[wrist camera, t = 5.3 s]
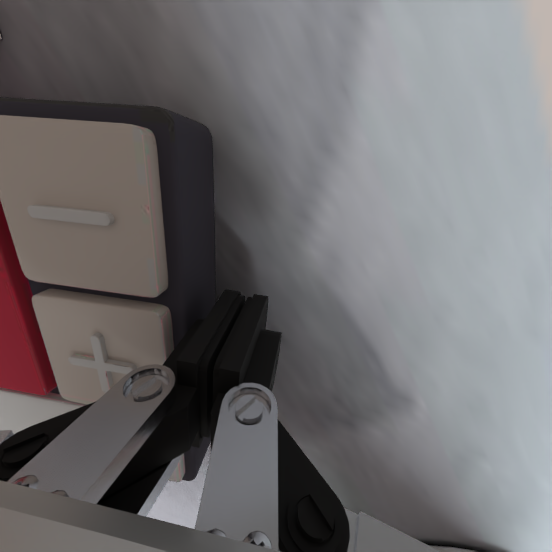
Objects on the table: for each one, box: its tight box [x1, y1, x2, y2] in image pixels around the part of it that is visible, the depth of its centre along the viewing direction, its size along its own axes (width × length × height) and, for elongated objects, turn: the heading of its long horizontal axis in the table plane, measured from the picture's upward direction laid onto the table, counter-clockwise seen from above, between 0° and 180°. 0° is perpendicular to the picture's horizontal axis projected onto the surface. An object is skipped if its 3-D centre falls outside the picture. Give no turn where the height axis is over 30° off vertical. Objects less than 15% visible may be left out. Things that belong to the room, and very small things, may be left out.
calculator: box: [0, 97, 215, 482], centre depth 11 cm, size 11×4×15 cm
